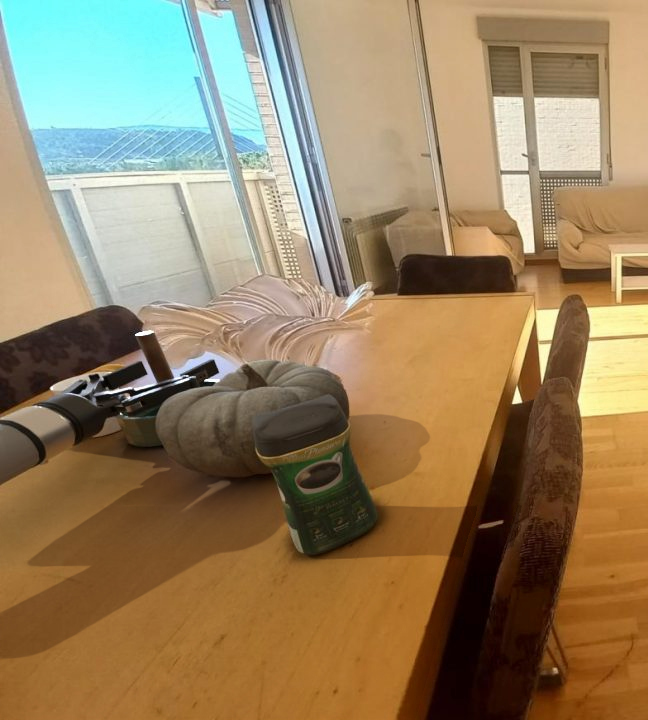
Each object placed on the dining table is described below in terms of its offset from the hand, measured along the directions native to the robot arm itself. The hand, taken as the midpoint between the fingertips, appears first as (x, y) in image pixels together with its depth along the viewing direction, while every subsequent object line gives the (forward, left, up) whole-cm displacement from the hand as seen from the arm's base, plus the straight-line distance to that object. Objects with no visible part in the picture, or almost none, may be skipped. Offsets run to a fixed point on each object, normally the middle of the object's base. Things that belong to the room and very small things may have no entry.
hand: (179, 366), depth 88 cm
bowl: (+2, -2, -11) cm, 11 cm away
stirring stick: (+2, -2, -10) cm, 11 cm away
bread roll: (-38, -11, -11) cm, 41 cm away
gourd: (+26, +7, -11) cm, 29 cm away
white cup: (-8, -13, -11) cm, 19 cm away
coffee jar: (+54, +7, -11) cm, 56 cm away
